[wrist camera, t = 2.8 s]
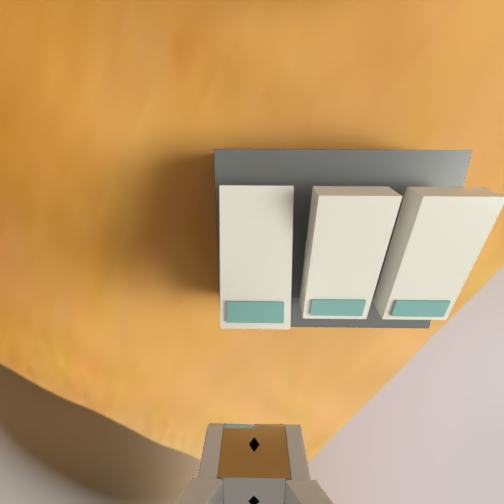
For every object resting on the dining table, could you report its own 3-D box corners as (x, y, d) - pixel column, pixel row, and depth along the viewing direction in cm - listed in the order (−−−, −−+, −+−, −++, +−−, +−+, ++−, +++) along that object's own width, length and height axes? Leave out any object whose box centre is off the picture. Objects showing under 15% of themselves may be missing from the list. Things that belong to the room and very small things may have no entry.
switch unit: (223, 152, 20) (211, 148, 15) (421, 153, 20) (486, 149, 15) (227, 296, 24) (218, 336, 19) (394, 297, 24) (437, 339, 18)
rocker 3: (407, 186, 14) (425, 197, 13) (482, 187, 14) (510, 197, 13) (372, 302, 18) (383, 321, 17) (431, 303, 18) (447, 321, 17)
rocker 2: (312, 185, 14) (319, 196, 13) (388, 186, 14) (403, 197, 13) (299, 301, 18) (303, 320, 17) (357, 302, 18) (367, 320, 17)
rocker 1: (222, 188, 16) (218, 184, 14) (289, 189, 16) (294, 185, 14) (223, 318, 17) (219, 329, 15) (287, 319, 17) (290, 330, 15)
